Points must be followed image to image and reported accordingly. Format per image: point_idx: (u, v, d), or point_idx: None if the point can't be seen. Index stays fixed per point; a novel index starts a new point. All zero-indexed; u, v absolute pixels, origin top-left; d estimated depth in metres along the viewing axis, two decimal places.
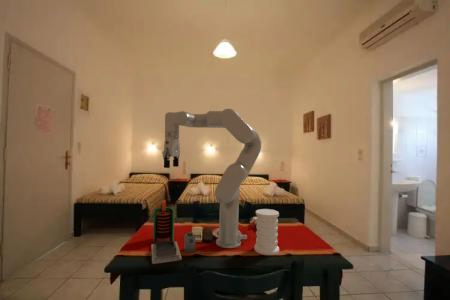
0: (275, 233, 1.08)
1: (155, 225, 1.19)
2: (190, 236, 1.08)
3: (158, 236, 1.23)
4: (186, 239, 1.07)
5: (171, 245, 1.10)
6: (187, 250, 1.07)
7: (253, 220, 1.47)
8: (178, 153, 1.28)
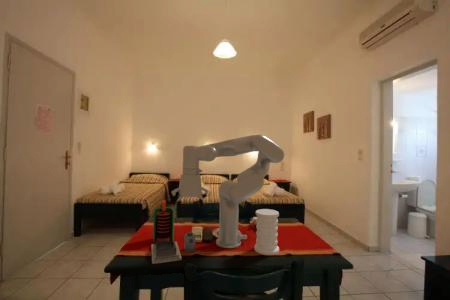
0: (275, 233, 1.08)
1: (155, 225, 1.19)
2: (190, 236, 1.08)
3: (158, 236, 1.23)
4: (186, 239, 1.07)
5: (171, 245, 1.10)
6: (187, 250, 1.07)
7: (253, 220, 1.46)
8: None
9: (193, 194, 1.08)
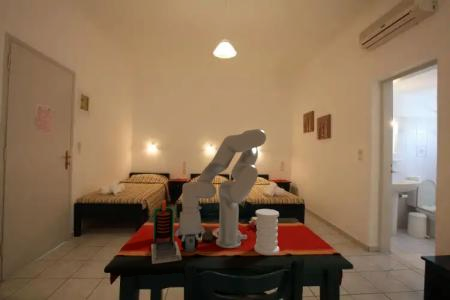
0: (275, 233, 1.08)
1: (155, 225, 1.19)
2: (190, 236, 1.08)
3: (158, 236, 1.23)
4: (186, 239, 1.07)
5: (171, 245, 1.10)
6: (187, 250, 1.07)
7: (252, 220, 1.46)
8: None
9: (193, 232, 1.08)
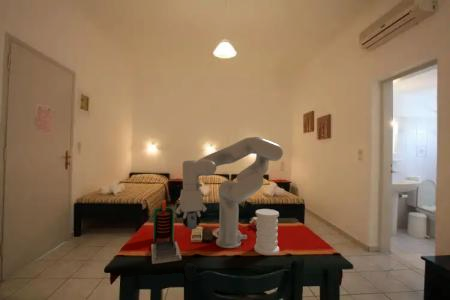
0: (275, 233, 1.08)
1: (155, 225, 1.19)
2: (192, 213, 1.08)
3: (158, 236, 1.23)
4: (188, 216, 1.08)
5: (171, 245, 1.10)
6: (189, 227, 1.07)
7: (253, 220, 1.46)
8: None
9: (194, 209, 1.08)
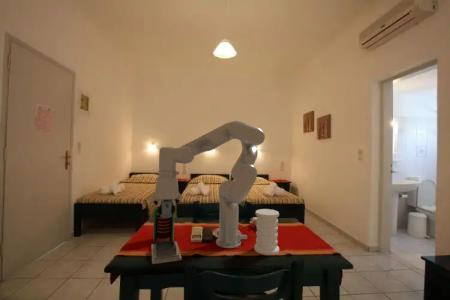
0: (275, 233, 1.08)
1: (155, 225, 1.19)
2: (166, 201, 1.04)
3: (158, 236, 1.23)
4: (162, 204, 1.04)
5: (171, 245, 1.10)
6: (163, 215, 1.04)
7: (253, 220, 1.46)
8: None
9: (169, 197, 1.04)
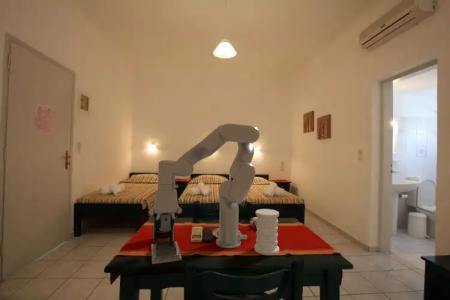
0: (275, 233, 1.08)
1: (155, 225, 1.19)
2: (165, 215, 1.04)
3: (158, 236, 1.23)
4: (161, 218, 1.04)
5: (171, 245, 1.10)
6: (162, 229, 1.03)
7: (253, 220, 1.46)
8: None
9: (168, 210, 1.04)
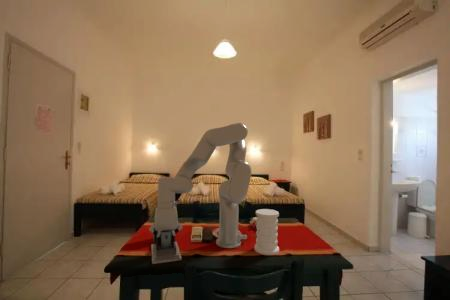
0: (275, 233, 1.08)
1: None
2: (166, 232, 1.04)
3: None
4: (162, 235, 1.04)
5: None
6: (163, 246, 1.04)
7: (253, 220, 1.46)
8: None
9: (169, 228, 1.04)
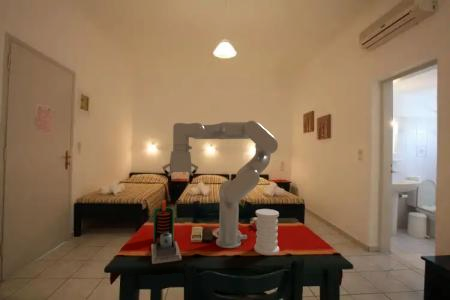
0: (275, 233, 1.08)
1: (155, 225, 1.19)
2: (165, 236, 1.04)
3: (158, 236, 1.23)
4: (161, 239, 1.04)
5: None
6: None
7: (253, 221, 1.45)
8: None
9: (183, 169, 1.12)
